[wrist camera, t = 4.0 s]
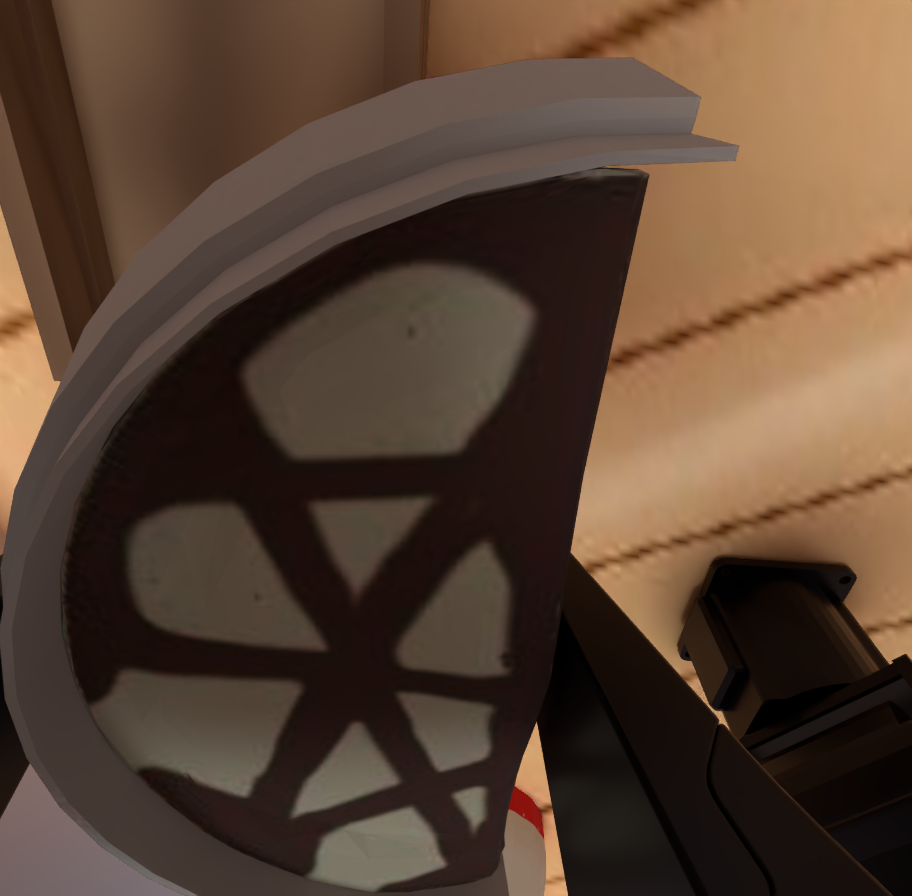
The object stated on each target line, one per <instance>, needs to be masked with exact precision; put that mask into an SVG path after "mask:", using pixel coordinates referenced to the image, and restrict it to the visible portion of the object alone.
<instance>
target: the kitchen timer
mask: <svg viewBox="0 0 912 896" xmlns="http://www.w3.org/2000/svg"><path fill="white" fill-rule="evenodd" d="M504 836H505V847H504V849H503V851H502V852H503V859H504V865H505V871H506V878H507V884H508V890H509V896H544V890H545V880H546V852H545V842H544V833H543V824H542V815H541V812H540V810H539V809H538V807H537V806H536V804H535V803H534V802H533V800H532V799H531V798H530V797H529V796H528V795H526V794H525V793H523V792H522V791H520V790H519V789H518V788H516V787H515V786H514V789H513V794H512V798H511V802H510V806H509V810H508V814H507V820H506V827H505V834H504Z"/></svg>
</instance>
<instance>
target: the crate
mask: <svg viewBox="0 0 912 896" xmlns="http://www.w3.org/2000/svg"><path fill="white" fill-rule="evenodd" d="M429 8H430V0H0V205H1V208H2V212H3V215H4V218H5V222H6V225H7V228H8V231H9V235H10V238H11V241H12V245H13V248H14V251H15V254H16V258H17V261H18V264H19V267H20V271H21V274H22V277H23V281H24V284H25V287H26V290H27V294H28V297H29V300H30V303H31V307H32V310H33V313H34V317H35V320H36V323H37V326H38V330H39V333H40V336H41V340H42V343H43V346H44V349H45V353H46V356H47V359H48V362H49V366H50V369H51V372H52V376H53V379H54V381H61V380H62V378H63V375H64V373H65V371H66V369H67V366H68V364H69V362H70V359H71V357H72V355H73V353H74V350H75V348H76V346H77V343H78V341H79V339H80V336H81V334H82V332H83V330H84V328H85V326H86V325H87V323H88V322H89V321H90V319H91V318H92V316H93V315H94V314H95V312H96V311H97V310H98V308H99V307H100V305H101V304H102V303H103V301H104V300H105V298H106V297H107V296H108V294H109V293H110V291H111V290H112V289H113V287H114V286H115V284H116V283H117V282H118V280H119V279H120V277H121V276H122V275H123V273H124V272H125V270H126V269H127V268H128V266H129V265H130V264H131V262H132V261H133V259H134V258H135V257H136V255H137V254H138V252H139V251H141V250H142V249H143V248H144V247H145V246H146V245H147V244H148V243H149V242H150V241H151V240H152V239H153V238H155V237H156V236H157V235H158V234H159V233H160V232H161V231H162V230H163V229H164V228H165V227H166V226H167V225H169V224H170V223H171V222H172V221H173V220H174V219H175V218H176V217H177V216H178V215H179V214H180V213H181V212H182V211H184V210H185V209H186V208H187V207H188V206H189V205H190V204H191V203H192V202H193V201H194V200H195V199H196V198H198V197H199V196H200V195H201V194H202V193H203V192H204V191H205V190H206V189H207V188H208V187H209V186H210V185H211V184H213V183H214V182H215V181H217V180H218V179H220V178H221V177H223V176H225V175H226V174H228V173H229V172H231V171H233V170H234V169H236V168H237V167H239V166H241V165H242V164H244V163H245V162H247V161H249V160H250V159H252V158H253V157H255V156H257V155H258V154H260V153H261V152H263V151H265V150H266V149H268V148H269V147H271V146H273V145H274V144H276V143H277V142H279V141H281V140H282V139H284V138H285V137H287V136H289V135H290V134H292V133H293V132H295V131H297V130H298V129H300V128H301V127H303V126H305V125H306V124H308V123H310V122H313V121H315V120H318V119H321V118H323V117H326V116H328V115H331V114H333V113H336V112H338V111H341V110H343V109H346V108H348V107H351V106H353V105H356V104H359V103H361V102H364V101H366V100H369V99H371V98H374V97H376V96H379V95H381V94H384V93H386V92H389V91H391V90H394V89H397V88H399V87H402V86H404V85H407V84H409V83H412V82H414V81H419V80H424V79H426V72H427V51H428V29H429Z"/></svg>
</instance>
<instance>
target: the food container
mask: <svg viewBox="0 0 912 896" xmlns="http://www.w3.org/2000/svg"><path fill="white" fill-rule="evenodd" d="M700 98H701V97H700V96H698V95H697V94H695V93H693V92H691V91H690V90H688V89H686V88H685V87H683V86H681V85H679V84H678V83H676V82H674V81H673V80H671V79H669V78H667V77H666V76H664V75H662V74H660V73H659V72H657V71H655V70H654V69H652V68H650V67H648V66H647V65H645V64H643V63H642V62H640V61H638V60H636V59H635V58H572V59H526V60H521V61H516V62H511V63H506V64H501V65H496V66H490V67H485V68H480V69H475V70H470V71H465V72H460V73H455V74H449V75H444V76H439V77H434V78H429V79H424V80H419V81H414V82H412V83H409V84H407V85H404V86H402V87H399V88H397V89H394V90H391V91H389V92H386V93H384V94H381V95H379V96H376V97H374V98H371V99H369V100H366V101H364V102H361V103H359V104H356V105H353V106H351V107H348V108H346V109H343V110H341V111H338V112H336V113H333V114H331V115H328V116H326V117H323V118H321V119H318V120H315V121H313V122H310V123H308V124H306V125H305V126H303V127H301V128H300V129H298V130H297V131H295V132H293V133H292V134H290V135H289V136H287V137H285V138H284V139H282V140H281V141H279V142H277V143H276V144H274V145H273V146H271V147H269V148H268V149H266V150H265V151H263V152H261V153H260V154H258V155H257V156H255V157H253V158H252V159H250V160H249V161H247V162H245V163H244V164H242V165H241V166H239V167H237V168H236V169H234V170H233V171H231V172H229V173H228V174H226V175H225V176H223V177H221V178H220V179H218V180H217V181H215V182H214V183H213V184H211V185H210V186H209V187H208V188H207V189H206V190H205V191H204V192H203V193H202V194H201V195H200V196H199V197H198V198H196V199H195V200H194V201H193V202H192V203H191V204H190V205H189V206H188V207H187V208H186V209H185V210H184V211H182V212H181V213H180V214H179V215H178V216H177V217H176V218H175V219H174V220H173V221H172V222H171V223H170V224H169V225H167V226H166V227H165V228H164V229H163V230H162V231H161V232H160V233H159V234H158V235H157V236H156V237H155V238H153V239H152V240H151V241H150V242H149V243H148V244H147V245H146V246H145V247H144V248H143V249H142V250H141V251H139V252H138V254H137V255H136V257H135V258H134V259H133V261H132V262H131V264H130V265H129V266H128V268H127V269H126V270H125V272H124V273H123V275H122V276H121V277H120V279H119V280H118V282H117V283H116V284H115V286H114V287H113V289H112V290H111V291H110V293H109V294H108V296H107V297H106V298H105V300H104V301H103V303H102V304H101V305H100V307H99V308H98V310H97V311H96V312H95V314H94V315H93V316H92V318H91V319H90V321H89V322H88V323H87V325H86V326H85V328H84V330H83V332H82V334H81V336H80V339H79V341H78V343H77V346H76V348H75V350H74V353H73V355H72V357H71V359H70V362H69V364H68V366H67V369H66V371H65V373H64V375H63V378H62V380H61V382H60V385H59V387H58V389H57V392H56V394H55V396H54V398H53V401H52V403H51V405H50V408H49V410H48V412H47V415H46V417H45V419H44V422H43V424H42V426H41V429H40V431H39V433H38V436H37V438H36V441H35V443H34V445H33V448H32V450H31V452H30V455H29V457H28V459H27V462H26V464H25V466H24V469H23V471H22V473H21V476H20V478H19V480H18V483H17V485H16V487H15V490H14V495H13V501H12V506H11V512H10V517H9V523H8V529H7V534H6V540H5V546H4V551H3V557H2V562H1V568H0V569H1V582H2V595H3V612H2V617H1V623H0V650H1V661H2V672H3V683H4V694H5V701H6V704H7V706H8V709H9V712H10V715H11V717H12V720H13V723H14V725H15V728H16V731H17V733H18V736H19V739H20V742H21V744H22V747H23V750H24V752H25V755H26V758H27V759H28V761H29V762H30V764H31V765H32V767H33V768H34V770H35V771H36V773H37V774H38V776H39V777H40V779H41V780H42V782H43V783H44V784H45V786H46V788H47V789H48V790H49V792H50V794H51V795H52V796H53V798H54V799H55V801H56V802H57V804H58V805H59V807H60V808H61V809H62V810H63V811H64V812H65V813H66V814H67V815H68V816H70V817H71V818H72V819H73V820H74V821H75V822H76V823H77V824H78V825H79V826H80V827H81V828H82V829H83V830H84V831H85V832H86V833H87V834H88V835H89V836H90V837H91V838H92V839H93V840H94V841H95V842H96V843H97V844H98V845H100V846H101V847H102V848H104V849H105V850H106V851H108V852H110V853H111V854H113V855H114V856H116V857H117V858H119V859H120V860H121V861H123V862H124V863H126V864H127V865H129V866H130V867H132V868H133V869H135V870H136V871H138V872H139V873H141V874H142V875H143V876H145V877H146V878H148V879H151V880H153V881H155V882H157V883H159V884H161V885H163V886H165V887H167V888H169V889H171V890H173V891H175V892H177V893H179V894H182V895H184V896H509V890H508V884H507V878H506V871H505V865H504V859H503V852H502V851H503V849H504V847H505V836H504V834H505V827H506V820H507V814H508V810H509V806H510V802H511V798H512V794H513V789H514V785H515V781H516V777H517V773H518V770H519V767H520V764H521V761H522V757H523V755H524V752H525V750H526V747H527V744H528V742H529V739H530V737H531V734H532V732H533V729H534V727H535V724H536V722H537V718H538V715H539V712H540V709H541V706H542V703H543V700H544V697H545V694H546V692H547V689H548V686H549V682H550V678H551V674H552V668H553V662H554V656H555V650H556V644H557V637H558V631H559V625H560V618H561V611H562V604H563V596H564V589H565V581H566V575H567V569H568V563H569V557H570V551H571V545H572V539H573V534H574V528H575V522H576V516H577V510H578V504H579V498H580V493H581V487H582V481H583V475H584V470H585V466H586V461H587V457H588V452H589V447H590V443H591V438H592V434H593V429H594V424H595V420H596V415H597V411H598V406H599V401H600V397H601V392H602V388H603V383H604V379H605V374H606V369H607V365H608V360H609V356H610V351H611V346H612V342H613V337H614V333H615V328H616V323H617V319H618V314H619V310H620V305H621V301H622V296H623V292H624V287H625V283H626V278H627V274H628V269H629V264H630V260H631V255H632V251H633V246H634V242H635V237H636V233H637V228H638V224H639V219H640V215H641V210H642V206H643V201H644V196H645V192H646V187H647V183H648V178H649V174H647V173H645V172H643V171H641V170H639V169H622V168H600V167H604V166H616V165H641V164H667V163H692V162H717V161H735V160H736V156H737V152H738V148H739V146H738V145H734V144H730V143H726V142H722V141H718V140H714V139H710V138H706V137H702V136H698V135H694V134H691V131H692V128H693V125H694V122H695V119H696V115H697V111H698V107H699V103H700Z"/></svg>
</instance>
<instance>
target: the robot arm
mask: <svg viewBox="0 0 912 896" xmlns="http://www.w3.org/2000/svg"><path fill="white" fill-rule="evenodd" d="M2 557H3V554H2V555H0V568H1V562H2ZM725 568H727V569H725ZM723 569H725V570H723ZM856 579H857V577H856V574H855V573H854V572H853V571H852V569H851V568H849V567H847V566H839V565H824V564H809V563H794V562H779V561H764V560H748V559H733V558H721V559H719V560H717V561H715V562H714V563H713V564H712V566H711V568H710V571H709V573H708V576H707V578H706V580H705V583H704V585H703V588H702V590H701V592H700V595H699V597H698V598H697V599H696V600H695V603H694V605H693V607H692V610H691V612H690V615H689V617H688V620H687V622H686V624H685V627H684V629H683V632H682V638H681V640H680V643H679V645H678V649H677V650H678V652H679V655H680V657H681V658H682V659H683V660H687V661H692V663H693V665H694V668H695V670H696V673H697V675H698V678H699V680H700V683H701V685H702V687H703V690H704V692H705V695H706V697H707V700H708V702H709V705H710V706H711V707H712V708H713V709H714V710H715V711H722V713H723V715H724V718H725V720H726V722H727V725H728V727H729V729H730V731H729V729H728V728H727V727H726V726H725V725H724V724H719V719H718V717H717V716H716V715H715V714H714V713H713V712H712V711H711V710H710V708H709V707H708V706H707V705H706V704H705V703H704V702H703V701H702V699H701V698H700V697H699V696H698V695H697V694H696V693H695V692H694V690H693V689H692V688H691V687H690V686H689V685H688V684H687V683H686V681H685V680H684V679H683V678H682V677H681V676H680V675H679V674H678V672H677V671H676V670H675V669H674V668H673V667H672V666H671V665H670V664H669V662H668V661H667V660H666V659H665V658H664V657H663V656H662V655H661V653H660V652H659V651H658V650H657V649H656V648H655V647H654V646H653V644H652V643H651V642H650V641H649V640H648V639H647V638H646V637H645V635H644V634H643V633H642V632H641V631H640V630H639V629H638V628H637V626H636V625H635V624H634V623H633V622H632V621H631V620H630V619H629V617H628V616H627V615H626V614H625V613H624V612H623V611H622V610H621V608H620V607H619V606H618V605H617V604H616V603H615V602H614V601H613V599H612V598H611V597H610V596H609V595H608V594H607V593H606V592H605V590H604V589H603V588H602V587H601V586H600V585H599V584H598V583H597V581H596V580H595V579H594V578H593V577H592V576H591V575H590V574H589V573H588V571H587V570H586V569H585V568H584V567H583V566H582V565H581V564H580V562H579V561H578V560H577V559H576V558H575V557H574V556H573V555H572V553H571V552H570V557H569V563H568V569H567V575H566V581H565V589H564V596H563V604H562V611H561V618H560V625H559V631H558V637H557V644H556V650H555V656H554V662H553V668H552V674H551V678H550V682H549V686H548V689H547V692H546V694H545V697H544V700H543V703H542V706H541V709H540V712H539V715H538V718H537V725H538V730H539V736H540V741H541V747H542V752H543V758H544V764H545V769H546V775H547V780H548V786H549V791H550V797H551V802H552V808H553V814H554V819H555V825H556V830H557V836H558V841H559V847H560V852H561V858H562V864H563V869H564V875H565V880H566V886H567V891H568V896H912V659H911V658H910V657H909V656H908V655H907V654H904V655H902V656H900V657H898V658H896V659H894V660H892V662H893V663H892V664H890V665H889V663H888V662H887V661H886V659H885V658H884V657H883V655H882V654H881V653H880V651H879V650H878V649H877V647H876V646H875V645H874V643H873V642H872V641H871V639H870V638H869V637H868V635H867V634H866V633H865V631H864V630H863V629H862V627H861V626H860V625H859V623H858V622H857V621H856V619H855V618H854V616H853V615H852V614H851V612H850V611H849V610H848V608H847V607H846V606H845V604H844V603H843V601H844V600H845V598H846V596H847V595H848V593H849V591H850V590H851V588H852V586H853V585H854V583H855V581H856ZM2 612H3V595H2V582H1V569H0V623H1V617H2ZM718 724H719V725H718ZM29 764H30V762H29V761H28V759H27V758H26V755H25V752H24V750H23V747H22V744H21V742H20V739H19V736H18V733H17V731H16V728H15V725H14V723H13V720H12V717H11V715H10V712H9V709H8V706H7V704H6V701H5V694H4V683H3V672H2V661H1V650H0V818H1V816H2V815H3V813H4V811H5V809H6V807H7V805H8V803H9V802H10V799H11V798H12V796H13V794H14V792H15V790H16V788H17V787H18V784H19V783H20V781H21V779H22V777H23V775H24V773H25V771H26V769H27V768H28V766H29Z"/></svg>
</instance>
